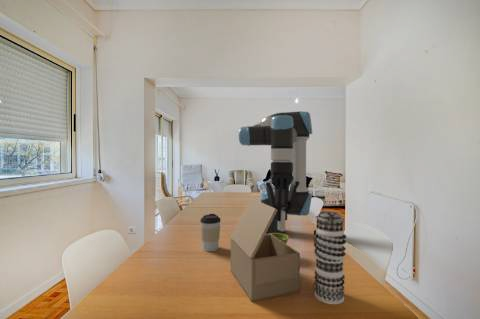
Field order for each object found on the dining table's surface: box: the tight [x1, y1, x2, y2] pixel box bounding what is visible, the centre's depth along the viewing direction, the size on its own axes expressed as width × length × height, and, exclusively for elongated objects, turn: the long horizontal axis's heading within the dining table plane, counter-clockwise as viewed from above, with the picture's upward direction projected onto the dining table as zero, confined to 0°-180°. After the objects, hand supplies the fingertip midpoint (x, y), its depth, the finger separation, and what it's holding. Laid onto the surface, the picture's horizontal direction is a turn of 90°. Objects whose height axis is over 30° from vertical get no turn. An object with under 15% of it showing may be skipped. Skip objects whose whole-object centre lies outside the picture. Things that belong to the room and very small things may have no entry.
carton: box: [230, 234, 301, 302], centre depth 84 cm, size 16×21×12 cm
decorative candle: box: [313, 210, 347, 305], centre depth 75 cm, size 9×9×25 cm
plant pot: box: [270, 233, 290, 245], centre depth 104 cm, size 9×9×9 cm
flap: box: [229, 197, 277, 259], centre depth 83 cm, size 16×20×1 cm
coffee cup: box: [200, 213, 221, 252], centre depth 113 cm, size 9×9×15 cm
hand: (281, 229), depth 87 cm, fingers closed
